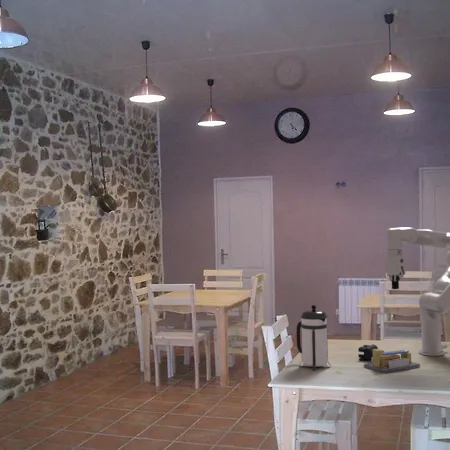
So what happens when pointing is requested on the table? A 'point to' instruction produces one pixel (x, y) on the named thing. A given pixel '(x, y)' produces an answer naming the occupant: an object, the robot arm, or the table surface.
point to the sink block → (390, 362)
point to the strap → (394, 352)
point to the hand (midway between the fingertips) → (395, 288)
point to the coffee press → (313, 338)
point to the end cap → (366, 352)
